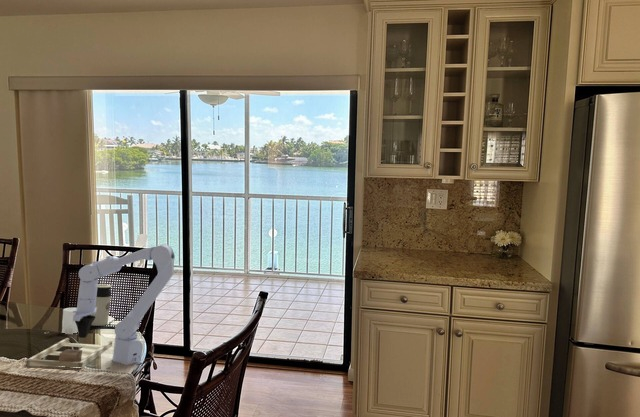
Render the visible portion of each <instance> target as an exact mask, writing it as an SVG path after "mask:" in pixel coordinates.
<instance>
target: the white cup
mask: <svg viewBox="0 0 640 417" xmlns="http://www.w3.org/2000/svg"><path fill="white" fill-rule="evenodd" d="M73 310H77V307H66V308H63V309H62V322H61V324H62V325H61V326H62V327H61V334H62V333H65V334H64V335H73V333H77V332H78V328H77V325H76V323H75V321H73V315H75V313H73Z"/></svg>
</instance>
